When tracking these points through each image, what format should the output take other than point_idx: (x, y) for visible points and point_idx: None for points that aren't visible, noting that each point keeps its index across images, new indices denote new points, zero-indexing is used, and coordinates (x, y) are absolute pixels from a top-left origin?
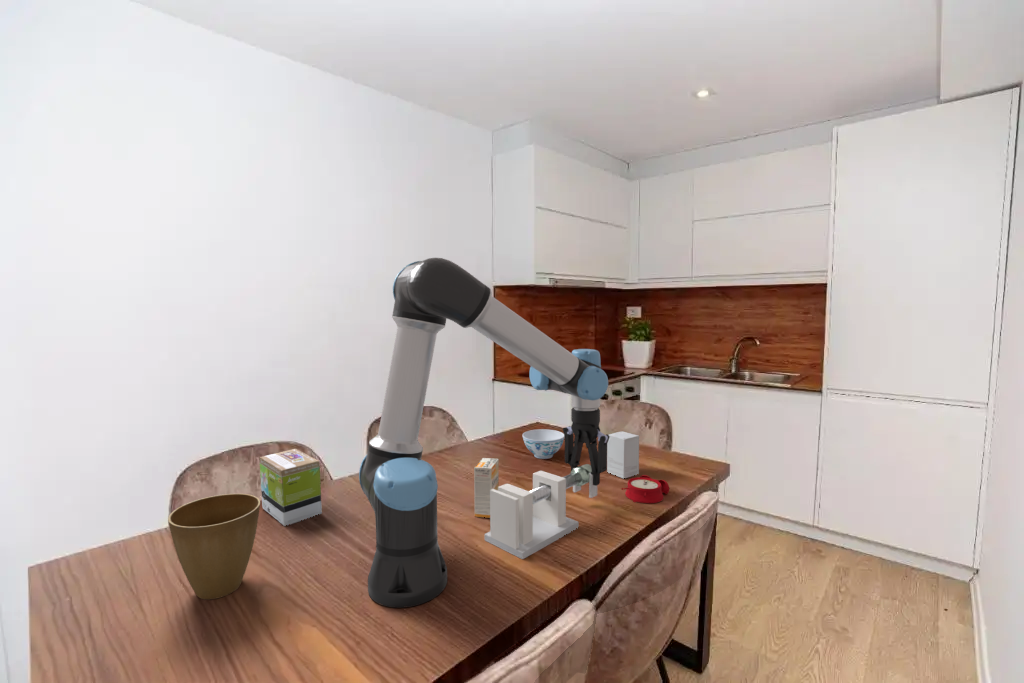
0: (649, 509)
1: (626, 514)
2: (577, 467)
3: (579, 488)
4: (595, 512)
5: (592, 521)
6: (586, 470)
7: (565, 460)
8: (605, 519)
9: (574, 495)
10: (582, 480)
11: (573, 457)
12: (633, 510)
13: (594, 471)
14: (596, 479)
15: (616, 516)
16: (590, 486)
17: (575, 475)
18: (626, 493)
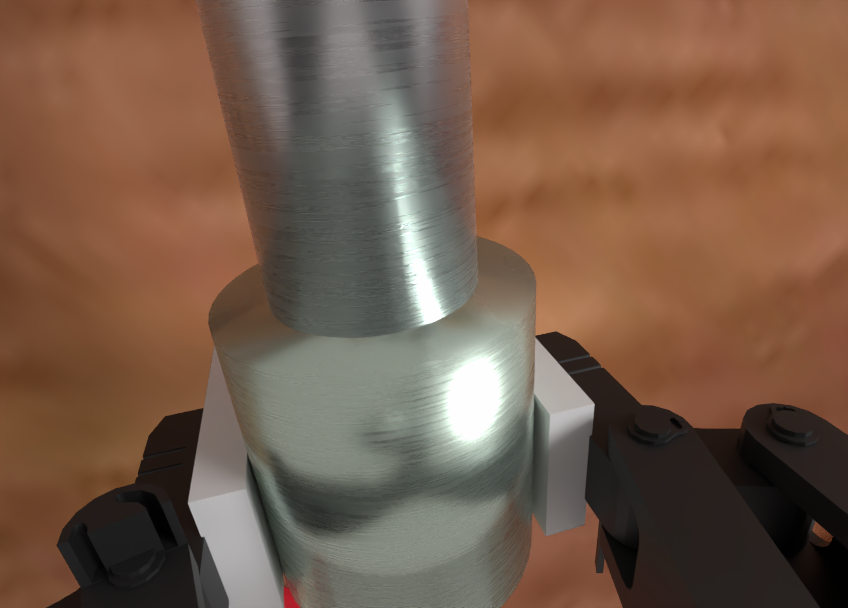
0: (16, 597)
1: (22, 432)
2: (501, 440)
3: None
4: (198, 264)
5: (43, 102)
6: (299, 496)
7: (822, 433)
8: (20, 235)
9: None
10: (257, 294)
11: (736, 576)
12: (61, 509)
13: (110, 577)
14: (140, 483)
15: (28, 349)
16: None
17: (296, 183)
18: (284, 604)
